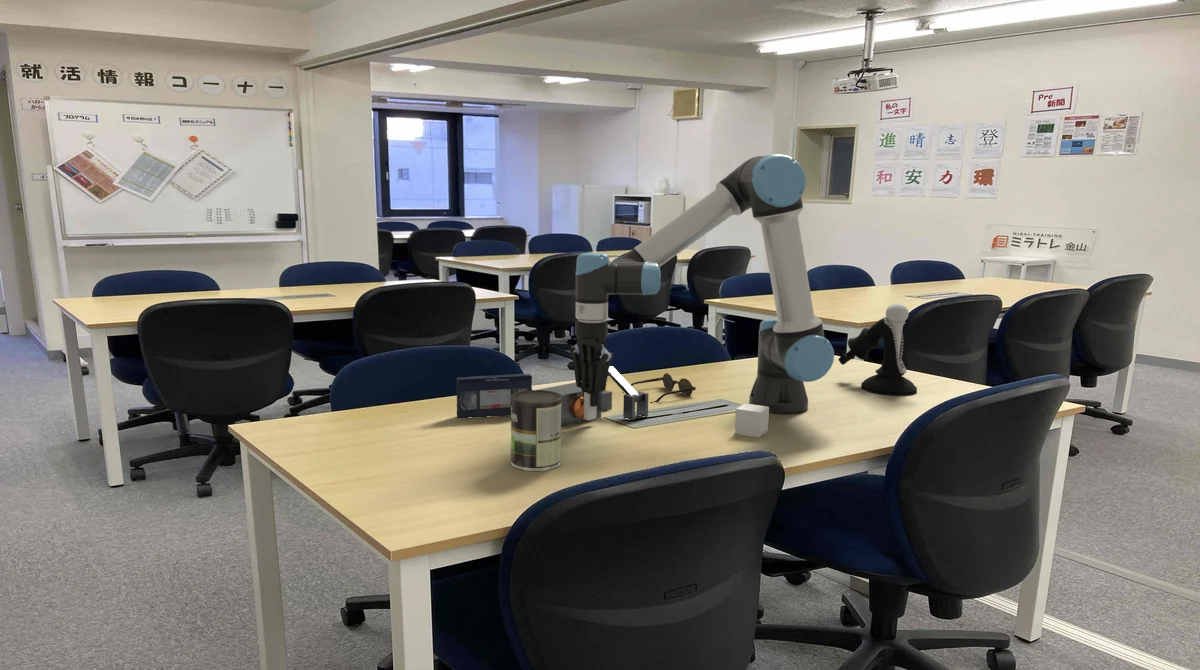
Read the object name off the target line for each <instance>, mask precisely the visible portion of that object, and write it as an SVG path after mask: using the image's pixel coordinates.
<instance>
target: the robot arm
mask: <svg viewBox="0 0 1200 670" xmlns="http://www.w3.org/2000/svg"><path fill="white" fill-rule="evenodd" d="M806 179H807V177H806V174H805V171H804V169H803V167H802V165H801V164H800V163H799V162H798V161H797V160H796V159H794V158H793V157H791V156H789V155H786V154H781V153H773V154H772V153H771V154H767V155H759V156H758V155H757V156H754V157H751V158H750V159H748V160H745V161H744V162H743V163H741V164H740V165H739V166H737V168H735V169H734V170H732V171H731V172H730V173H728V174H727V175H726V176H725V177H724V178H722V179H721V180H720V181H719V182H717V183H716V184H715V188H714V189H715V190H713V191H712V192H710V193H708V194H707V195H706V196H704V197H703V198H702V199H700V200H699V201H697V202H696V203H695V204H693V205H692V206H691V207H689V208H688V209H686V210H685V211H684V212H683V213H681V214H680V215H678V216H676V217H675V218H674V219H673V220H671V221H670V222H668V223H667V224H666V225H664V226H663V227H661V228H660V229H659V230H657V231H656V232H654V233H653V234H652V235H650V236H649V237H647V238H646V239H644V240H643V241H642V242H640V243H639V244H638V245H636V246H635V247H634V248H632V249H630V250H629V251H628V252H626V253H625V254H624V255H622V256H618V257H616V258H614V259H612V261H610V257H609V254H607V253H605V252H604V253H601V252H598V253H597V252H582V253H579V254H578V256H577V257H576V267H575V318H576V319H577V320H576V321H574V323H575V324H574V325H575V327H574V335H575V337H576V338H577V340H576V344H574V345H572V346H570V347H569V348H568V349H569V353H570V355H571V359H572V365H573V372H574V379H575V382H576V386H577V387H580V388H581V390H582V391H583V404H584V419H585V420H587V421H591V420H595V419H597V418H596V413H597V406H598V393H599V392H600V391H604V390H605V387H606V388H607V381H608V377H609V375H608V372H609V367H611V362H612V360H613V358H614V353H613V352H609V351H608V350H607V345H606V344H607V343H606V338H607V337H608V333H609V332H608V329H609V327H608V326H609V325H608V324H609V322H607V319H609V318H608V317H609V295H613V296H614V295H627V296H628V295H634V296H635V295H637V296H638V295H639V296H640V295H641V296H647V295H656V294H658V292H659V291H660V290H661V289H660V288H661V280H662V279H661V278H662V275H661V273H662V272H661V267H662V266H663V265H664V264H666V263H667V262H669V261H670V260H672V259H673V258H675V257H676V256H677V255H679V254H680V253H682V252H683V251H684V250H685V249H687V248H688V247H690V246H691V245H693V244H694V243H695V242H696V241H698V240H699V239H701V238H702V237H704V236H705V235H707V234H708V233H709V232H711V231H712V230H714V229H715V228H716V227H718V226H719V225H721V224H722V223H723V222H725V221H726V220H728V219H729V218H730V217H732V216H740V215H742V214H743V213H745V212H746V211H747V210H750V209H751V213H752V217H753V220H755V221H757V222H758V223H759V224H760V225H761V226H760V227H761V232H762V238H763V243H764V249H765V253H766V259H767V260H766V261H767V266H768V271H769V272H768V273H769V277H770V284H771V288H772V289H771V290H772V294H773V301H774V306H775V312H776V318H777V319H763V320H762V321H761V322H760V323H759V329H758V330H759V331H758V348H757V349H758V351H757V353H758V354H757V369H756V370H757V373H756V378H755V381H754V384H753V386H752V389H751V390H750V393H749V398H748V404H753V405H760V406H767V407H769V413H777V414H793V413H796V414H797V413H802V412H806V410H808V409H809V397H808V395H807V390H806V387H805V382H806V383H809V382H811V383H812V382H816V381H818V380H821V378H823V377H824V376H826V375H827V374H828V372H829V371H830V369H831V368H832V366H833V364H834V361H835V352H834V348H833V346H832V344H831V342H830V341H829V340H828V338H826V337H825V333H824V332H825V331H824V326H823V321H822V319H821V318H819V317H817V315H815V312H814V307H813V299H812V294H811V288H810V283H809V277H808V276H809V275H808V269H807V265H806V260H805V259H806V258H805V253H804V245H803V239H802V236H801V235H802V233H801V229H800V228H801V227H800V223H799V216H800V214H801V212H802V211H803V209H804V206H803V205H804V204H803V199H802V195H803V193H804V191H805V190H806V185H807V180H806Z"/></svg>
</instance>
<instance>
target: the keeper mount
mask: <svg viewBox="0 0 1200 670" xmlns="http://www.w3.org/2000/svg"><path fill="white" fill-rule="evenodd" d="M636 392H637V393H642V394H643V397H644V399H643V401H640V402H635V396H632V395H628V394H625V393H624V394H623V411H622V412H623V413H622V414H623V415H622V418H623V417H624V418H628V419H631V420H633V419H635V420H636V416H637V415H641V416H645V417H646V416H648V417H649V393H648V392H643V391H636ZM611 408H612V409H613V392H612V391H610V390H606V391H602V392H601V411H602V410H604V411H608V410H607V409H609V410H612V409H611ZM636 414H637V415H636Z"/></svg>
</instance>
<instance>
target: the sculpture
mask: <svg viewBox="0 0 1200 670" xmlns="http://www.w3.org/2000/svg"><path fill="white" fill-rule="evenodd" d="M909 315H910V314H909V310H908V307H906V305H904V304H902V303H892V304H890V305H889V306H888V307H887V308H886V310H885V316H884V317H883V318H880V319H879V320H877V321H876V322H875V323H874V324H872V325H871V326H870V327H869V328H867V327H864V328H862V330H861V332H860V333H859V334H858V335H857V336H855V337H851V338H849V339H848V340H847V346H848V348H849V350H848V351H847V352H846V353H844V354H841V355H839V358H838V361H839V363H840V364H841V365H842V366H843V365H845V364H847V363H848V362H849V361H851V360H854V359H855V358H858V359H859V360H862V361H864V360H867V359H868V355H869V354H870V352H871V351H872V350H874V349H876V348H878V347H880V344H881V342H880V340H882V341H883V344H884V350H883V357H882V363H881V366H880V367H879V368H877V369H876V370H875V373H876V374H874V375H871V376H869V377H867V378H866V379H864V380H863V381H862V382H861V384H860V385H861V386H860V388H861V389H862V390H863V391H865V392H868V393H873V394H876V395H877V394H878V395H883V396H884V395H885V396H893V397H894V396H896V397H898V396H912V395H914V394H917V392H918V390H917V389H918V387H917V386H916V385H915V383H913V382H912V381H911V380H910V379H908V378H906V377H904V375H905V374H906V373H907V369H906V366H905V364H904V362H903V359H902V357H903V354H904V353H903V351H904V334H903V332H904V331H903V328H904V327H903V326H904V325H905V324H906V320H907V319H908V318H909Z"/></svg>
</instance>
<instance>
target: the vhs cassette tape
mask: <svg viewBox="0 0 1200 670" xmlns="http://www.w3.org/2000/svg"><path fill="white" fill-rule="evenodd" d="M455 379H456V390H455V391H456V416H457V419H458V418H466V419H469V418H468V417H482V418H488V417H487V416H498V417H507V416H506V415H511V400H510V397H511V395H512V394H514V393H517V392H520V391H527V390H533V377H532V375H531V373H520V374H519V373H517V374H499V375H498V374H497V375H477V376H462V377H456V378H455Z"/></svg>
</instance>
